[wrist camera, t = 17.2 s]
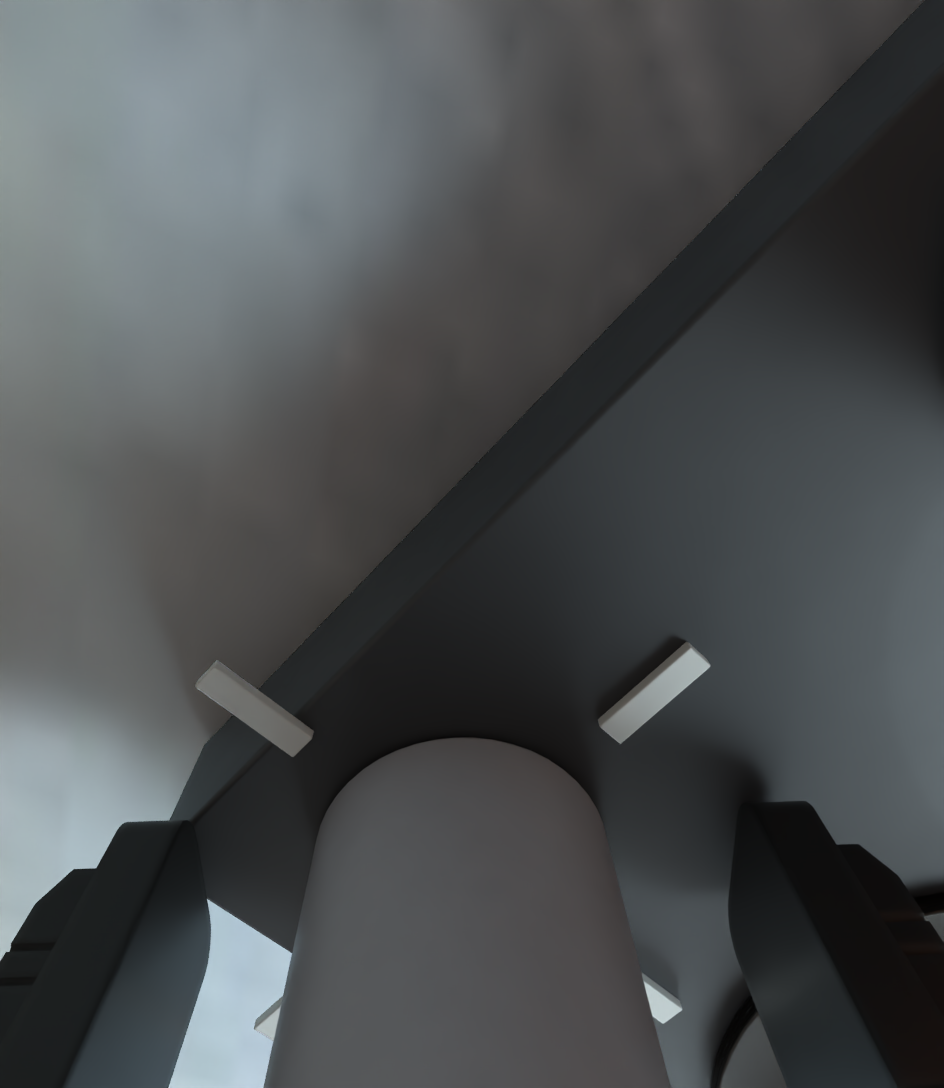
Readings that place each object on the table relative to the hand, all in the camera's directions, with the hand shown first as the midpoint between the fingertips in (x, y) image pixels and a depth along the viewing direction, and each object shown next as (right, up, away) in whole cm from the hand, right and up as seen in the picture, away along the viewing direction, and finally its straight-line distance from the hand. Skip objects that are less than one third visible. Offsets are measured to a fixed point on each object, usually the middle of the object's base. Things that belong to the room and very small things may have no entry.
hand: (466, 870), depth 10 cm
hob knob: (0, 0, 0) cm, 0 cm away
